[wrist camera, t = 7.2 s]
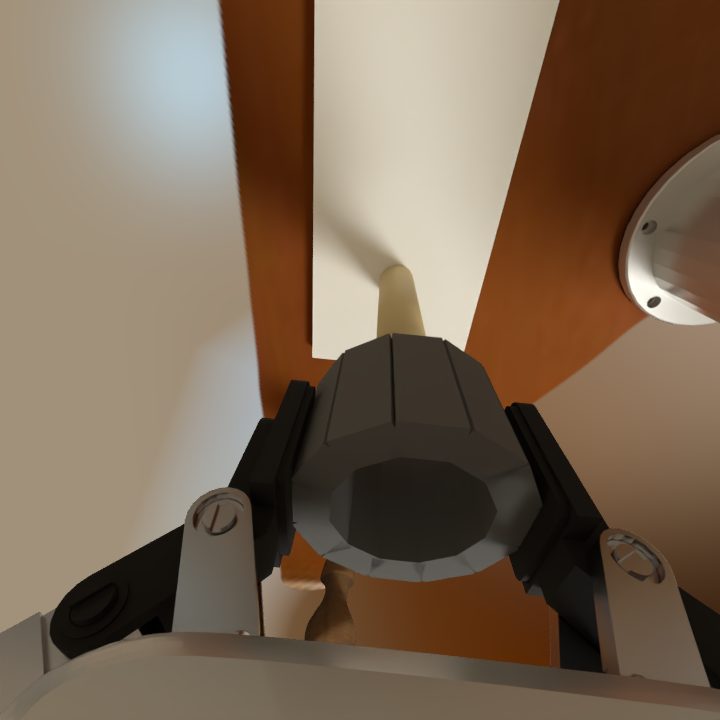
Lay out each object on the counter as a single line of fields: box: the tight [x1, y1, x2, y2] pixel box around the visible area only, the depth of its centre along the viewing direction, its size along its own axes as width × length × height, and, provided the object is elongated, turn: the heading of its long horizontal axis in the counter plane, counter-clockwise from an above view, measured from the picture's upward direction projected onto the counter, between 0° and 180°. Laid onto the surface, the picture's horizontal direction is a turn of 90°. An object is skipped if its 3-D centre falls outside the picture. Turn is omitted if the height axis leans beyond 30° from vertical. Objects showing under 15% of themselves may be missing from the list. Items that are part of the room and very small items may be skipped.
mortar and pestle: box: [305, 559, 356, 646], centre depth 27 cm, size 7×6×18 cm
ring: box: [292, 333, 543, 582], centre depth 10 cm, size 6×6×4 cm
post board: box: [312, 0, 560, 360], centre depth 18 cm, size 12×24×12 cm, turn 176°
